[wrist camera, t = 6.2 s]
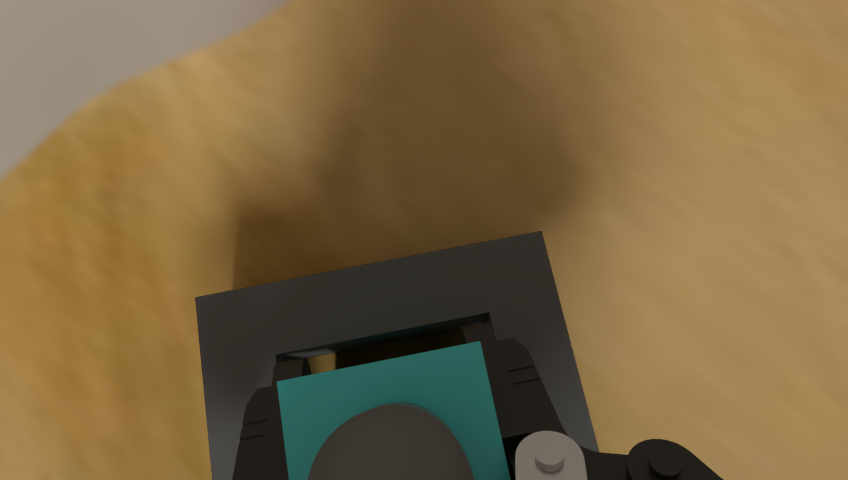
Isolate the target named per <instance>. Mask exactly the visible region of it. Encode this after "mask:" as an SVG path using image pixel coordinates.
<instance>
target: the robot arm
mask: <svg viewBox="0 0 848 480" xmlns="http://www.w3.org/2000/svg"><path fill="white" fill-rule="evenodd" d="M461 336H462V344H468V343H473V342H478V341H480V342H481V347H482V351H483V356H484V360H485V365H486V370H487V374H488V379H489V383H490V388H491V392H492V397H493V402H494V406H495V411H496V415H497V420H498V424H499V429H500V434H501V438H502V443H503V447H504V452H505V456H506V461H507V466H508V470H509V475H510V479H511V480H723V479H722V478H720V477H719V476H718V475H717V474H716V473H715V472H713V471H712V470H711V469H710V468H709V467H708V466H706V465H705V464H704V463H703V462H702V461H700V460H699V459H698V458H697V457H696V456H695V455H693V454H692V453H691V452H690V451H689V450H687V449H686V448H684V447H683V446H681V445H679V444H677V443H674V442H671V441H668V440H662V439H650V440H645V441H642V442H640V443H638V444H637V445H635V446H634V447H633V448H632V449H631V450H630V452H629V454H628V455H622V454H610V453H601V452H595V451H592V450H589V449H586V448H584V447H582V446H580V445H579V444H577V443H576V442H575V441H574V440H572V439H571V438H570V437H569V436H568V435H567V433H566V432H565V430H564V428H563V427H562V424H561V422H560V420H559V418H558V415H557V413H556V411H555V409H554V407H553V404H552V402H551V400H550V398H549V396H548V393H547V391H546V389H545V387H544V384H543V382H542V381H541V378H540V376H539V373H538V371H537V369H536V368H535V364H534V362H533V360H532V358H531V356H530V353H529V351H528V349H526V348H525V347H524V346H523V345H522V344H521V343H519V342H518V341H517V340H516V339H515V338H509V339H504V340H499V341H497V340H496V338H495V335H494V332H493V330H492V327H491V325H490V323H489V322H484V323H479V324H474V325H469V326H464V327H461ZM307 375H312V373H311V370H310V367H309V364H308V361H307V359H306V358H301V359H296V360H291V361H286V362H281V363H276V364H275V366H274V371H273V379H272V386H268V387H263V388H258V389H256V391H255V392H254V394H253V396H252V397H251V399H250V400H249V402H248V403H247V405H246V407H245V412H244V418H243V423H242V425H243V428H242V429H241V434H240V443H239V445H238V450H237V456H236V461H235V467H234V472H233V478H232V480H289V477H288V468H287V460H286V452H285V444H284V436H283V428H282V420H281V412H280V404H279V396H278V388H277V381H282V380H287V379H292V378H297V377H302V376H307Z"/></svg>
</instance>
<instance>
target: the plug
mask: <svg viewBox="0 0 848 480" xmlns="http://www.w3.org/2000/svg"><path fill="white" fill-rule="evenodd" d="M277 388H278V396H279V404H280V412H281V420H282V428H283V436H284V444H285V452H286V460H287V468H288V477H289V480H511V479H510V475H509V470H508V466H507V461H506V456H505V452H504V447H503V443H502V438H501V434H500V429H499V424H498V420H497V415H496V411H495V406H494V402H493V397H492V392H491V388H490V383H489V379H488V374H487V370H486V365H485V360H484V356H483V351H482V347H481V342H480V341H478V342H473V343H468V344H463V345H458V346H453V347H448V348H443V349H438V350H433V351H428V352H422V353H417V354H412V355H407V356H402V357H397V358H392V359H387V360H382V361H377V362H372V363H367V364H362V365H357V366H352V367H347V368H342V369H337V370H332V371H327V372H322V373H317V374H312V375H307V376H302V377H297V378H292V379H287V380H282V381H277Z"/></svg>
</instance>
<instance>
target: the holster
mask: <svg viewBox="0 0 848 480" xmlns="http://www.w3.org/2000/svg"><path fill="white" fill-rule="evenodd" d="M195 301H196V311H197V322H198V333H199V343H200V354H201V365H202V375H203V386H204V396H205V407H206V418H207V428H208V439H209V449H210V460H211V471H212V480H232V478H233V472H234V467H235V461H236V456H237V450H238V445H239V443H240V434H241V429H242V428H243V425H242V423H243V418H244V412H245V407H246V405H247V403H248V402H249V400H250V399H251V397H252V396H253V394H254V392H255V391H256V389H258V388H263V387H268V386H272V379H273V371H274V366H275V364H276V363H281V362H286V361H291V360H296V359H301V358H310V357H315V356H320V355H325V354H330V353H335V352H340V351H345V350H350V349H355V348H360V347H365V346H370V345H375V344H380V343H385V342H390V341H395V340H400V339H405V338H410V337H415V336H420V335H425V334H430V333H435V332H440V331H445V330H450V329H455V328H460V327H464V326H469V325H474V324H479V323H484V322H489V323H490V325H491V327H492V330H493V332H494V335H495V338H496V340H497V341H499V340H504V339H509V338H515V339H516V340H517V341H518V342H519V343H521V344H522V345H523V346H524V347H525V348H526V349H528V351H529V353H530V356H531V358H532V360H533V362H534V364H535V368H536V369H537V371H538V373H539V376H540V378H541V381H542V382H543V384H544V387H545V389H546V391H547V393H548V396H549V398H550V400H551V402H552V404H553V407H554V409H555V411H556V413H557V415H558V418H559V420H560V422H561V424H562V427H563V428H564V430H565V432H566V433H567V435H568V436H569V437H570V438H571V439H572V440H574V441H575V442H576V443H577V444H579V445H580V446H582V447H584V448H586V449H589V450H592V451H595V452H599V450H598V446H597V442H596V438H595V434H594V431H593V427H592V423H591V419H590V415H589V411H588V408H587V404H586V400H585V396H584V392H583V388H582V385H581V381H580V377H579V373H578V369H577V365H576V362H575V358H574V354H573V350H572V346H571V342H570V339H569V335H568V331H567V327H566V323H565V319H564V316H563V312H562V308H561V304H560V300H559V296H558V293H557V289H556V285H555V281H554V277H553V273H552V270H551V266H550V262H549V258H548V254H547V250H546V247H545V243H544V239H543V235H542V231H539V232H533V233H528V234H523V235H518V236H513V237H507V238H502V239H497V240H492V241H486V242H481V243H476V244H471V245H466V246H460V247H455V248H450V249H445V250H440V251H434V252H429V253H424V254H419V255H414V256H408V257H403V258H398V259H393V260H387V261H382V262H377V263H372V264H367V265H361V266H356V267H351V268H346V269H341V270H335V271H330V272H325V273H320V274H315V275H309V276H304V277H299V278H294V279H288V280H283V281H278V282H273V283H268V284H262V285H257V286H252V287H247V288H242V289H236V290H231V291H226V292H221V293H216V294H210V295H205V296H200V297H195Z"/></svg>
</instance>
